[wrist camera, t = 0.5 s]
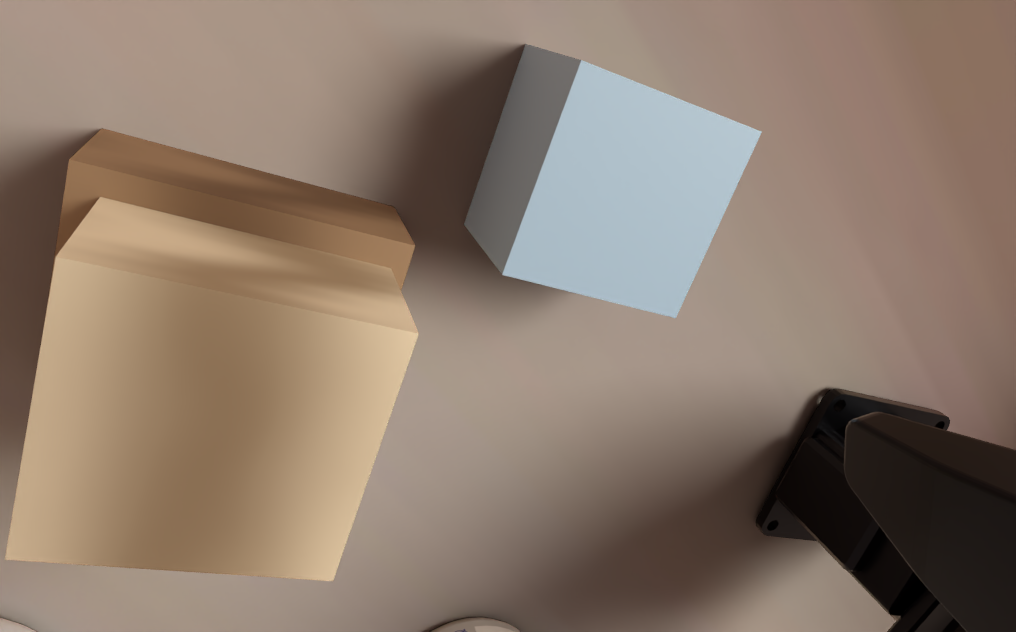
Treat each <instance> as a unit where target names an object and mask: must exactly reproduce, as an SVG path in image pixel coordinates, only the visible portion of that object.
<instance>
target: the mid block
mask: <svg viewBox="0 0 1016 632" xmlns="http://www.w3.org/2000/svg"><path fill="white" fill-rule="evenodd" d="M418 335H419V333H418V330H417V328H416V326H415V323H414V321H413V319H412V316H411V314H410V312H409V309H408V307H407V304H406V302H405V300H404V297H403V295H402V293H401V290H400V288H399V286H398V283H397V281H396V279H395V276H394V274H393V272H392V269H391V268H387V267H383V266H379V265H375V264H371V263H367V262H363V261H359V260H355V259H351V258H347V257H343V256H339V255H335V254H331V253H326V252H322V251H318V250H314V249H310V248H306V247H302V246H298V245H294V244H290V243H286V242H282V241H278V240H274V239H270V238H265V237H261V236H257V235H253V234H249V233H245V232H241V231H237V230H233V229H229V228H225V227H221V226H217V225H213V224H209V223H205V222H200V221H196V220H192V219H188V218H184V217H180V216H176V215H172V214H168V213H164V212H160V211H156V210H152V209H148V208H144V207H139V206H135V205H131V204H127V203H123V202H119V201H115V200H111V199H107V198H103V197H100V198H99V199H98V200H97V202H96V203H95V205H94V206H93V207H92V209H91V210H90V211H89V213H88V214H87V215H86V217H85V218H84V219H83V221H82V222H81V223H80V225H79V226H78V227H77V229H76V230H75V231H74V233H73V234H72V235H71V237H70V238H69V239H68V241H67V242H66V243H65V245H64V246H63V248H62V249H61V250H60V252H59V253H58V254H57V256H56V258H55V264H54V270H53V276H52V282H51V288H50V294H49V300H48V306H47V312H46V318H45V323H44V329H43V335H42V341H41V347H40V353H39V359H38V365H37V371H36V377H35V383H34V389H33V395H32V401H31V407H30V413H29V418H28V424H27V430H26V436H25V442H24V448H23V454H22V460H21V466H20V472H19V478H18V484H17V490H16V496H15V502H14V508H13V513H12V519H11V525H10V531H9V537H8V543H7V549H6V555H5V560H17V561H33V562H48V563H63V564H78V565H94V566H109V567H124V568H139V569H155V570H170V571H185V572H201V573H216V574H231V575H246V576H262V577H277V578H292V579H307V580H323V581H333V580H334V577H335V574H336V571H337V568H338V565H339V562H340V559H341V557H342V554H343V551H344V548H345V545H346V542H347V539H348V536H349V534H350V531H351V528H352V525H353V522H354V519H355V516H356V513H357V510H358V508H359V505H360V502H361V499H362V496H363V493H364V490H365V487H366V485H367V482H368V479H369V476H370V473H371V470H372V467H373V464H374V462H375V459H376V456H377V453H378V450H379V447H380V444H381V441H382V438H383V436H384V433H385V430H386V427H387V424H388V421H389V418H390V415H391V413H392V410H393V407H394V404H395V401H396V398H397V395H398V392H399V389H400V387H401V384H402V381H403V378H404V375H405V372H406V369H407V366H408V364H409V361H410V358H411V355H412V352H413V349H414V346H415V343H416V341H417V338H418Z"/></svg>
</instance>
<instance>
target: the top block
mask: <svg viewBox="0 0 1016 632" xmlns="http://www.w3.org/2000/svg"><path fill="white" fill-rule="evenodd" d="M760 134H761V131H758V130H756V129H753V128H751V127H748V126H746V125H743V124H741V123H738V122H736V121H733V120H731V119H728V118H726V117H723V116H721V115H718V114H716V113H713V112H711V111H708V110H705V109H703V108H700V107H698V106H695V105H693V104H690V103H688V102H685V101H683V100H680V99H678V98H675V97H673V96H670V95H668V94H665V93H663V92H660V91H658V90H655V89H652V88H650V87H647V86H645V85H642V84H640V83H637V82H635V81H632V80H630V79H627V78H625V77H622V76H620V75H617V74H615V73H612V72H610V71H607V70H605V69H602V68H600V67H597V66H594V65H592V64H589V63H587V62H584V61H582V60H579V59H575V58H572V57H568V56H565V55H562V54H558V53H555V52H551V51H548V50H544V49H541V48H538V47H534V46H531V45H527V44H525V47H524V50H523V53H522V56H521V59H520V62H519V64H518V67H517V70H516V73H515V76H514V79H513V82H512V85H511V88H510V91H509V94H508V97H507V100H506V102H505V105H504V108H503V111H502V114H501V117H500V120H499V123H498V126H497V129H496V132H495V135H494V138H493V141H492V143H491V146H490V149H489V152H488V155H487V158H486V161H485V164H484V167H483V170H482V173H481V176H480V179H479V181H478V184H477V187H476V190H475V193H474V196H473V199H472V202H471V205H470V208H469V211H468V214H467V217H466V220H465V222H464V225H465V227H466V228H467V229H468V231H469V232H470V233H471V235H472V236H473V237H474V238H475V240H476V241H477V242H478V244H479V245H480V246H481V248H482V249H483V250H484V252H485V253H486V254H487V256H488V257H489V258H490V260H491V261H492V262H493V263H494V265H495V266H496V267H497V269H498V270H499V271H500V273H501V274H502V275H505V276H509V277H513V278H517V279H521V280H525V281H529V282H533V283H537V284H541V285H545V286H549V287H553V288H557V289H561V290H565V291H569V292H573V293H577V294H581V295H585V296H589V297H593V298H597V299H601V300H605V301H609V302H613V303H617V304H621V305H625V306H629V307H633V308H637V309H641V310H645V311H649V312H653V313H657V314H661V315H665V316H669V317H673V318H676V316H677V314H678V312H679V310H680V308H681V306H682V303H683V301H684V299H685V297H686V295H687V293H688V290H689V288H690V286H691V284H692V282H693V280H694V277H695V275H696V273H697V271H698V269H699V267H700V264H701V262H702V260H703V258H704V256H705V254H706V251H707V249H708V247H709V245H710V243H711V241H712V238H713V236H714V234H715V232H716V230H717V228H718V225H719V223H720V221H721V219H722V217H723V215H724V212H725V210H726V208H727V206H728V204H729V202H730V199H731V197H732V195H733V193H734V191H735V189H736V186H737V184H738V182H739V180H740V178H741V176H742V173H743V171H744V169H745V167H746V165H747V163H748V160H749V158H750V156H751V154H752V152H753V150H754V147H755V145H756V143H757V141H758V139H759V137H760Z"/></svg>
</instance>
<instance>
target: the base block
mask: <svg viewBox="0 0 1016 632" xmlns="http://www.w3.org/2000/svg"><path fill="white" fill-rule="evenodd" d="M100 197H103V198H107V199H111V200H115V201H119V202H123V203H127V204H131V205H135V206H139V207H144V208H148V209H152V210H156V211H160V212H164V213H168V214H172V215H176V216H180V217H184V218H188V219H192V220H196V221H200V222H205V223H209V224H213V225H217V226H221V227H225V228H229V229H233V230H237V231H241V232H245V233H249V234H253V235H257V236H261V237H265V238H270V239H274V240H278V241H282V242H286V243H290V244H294V245H298V246H302V247H306V248H310V249H314V250H318V251H322V252H326V253H331V254H335V255H339V256H343V257H347V258H351V259H355V260H359V261H363V262H367V263H371V264H375V265H379V266H383V267H387V268H391V269H392V272H393V274H394V276H395V279H396V281H397V283H398V286H399V288H400V290H401V289H402V286H403V283H404V280H405V277H406V274H407V271H408V267H409V264H410V261H411V258H412V255H413V252H414V249H415V244H414V242H413V240H412V239H411V237H410V235H409V233H408V231H407V230H406V228H405V226H404V224H403V222H402V220H401V219H400V217H399V215H398V213H397V211H396V209H395V208H394V207H393V206H389V205H385V204H382V203H378V202H374V201H371V200H367V199H363V198H359V197H356V196H352V195H348V194H344V193H341V192H337V191H333V190H330V189H326V188H322V187H318V186H315V185H311V184H307V183H303V182H300V181H296V180H292V179H289V178H285V177H281V176H277V175H274V174H270V173H266V172H263V171H259V170H255V169H251V168H248V167H244V166H240V165H236V164H233V163H229V162H225V161H222V160H218V159H214V158H210V157H207V156H203V155H199V154H195V153H192V152H188V151H184V150H181V149H177V148H173V147H169V146H166V145H162V144H158V143H155V142H151V141H147V140H143V139H140V138H136V137H132V136H128V135H125V134H121V133H117V132H114V131H110V130H106V129H101V130H100V131H99V132H98V133H97V134H96V135H94V136H93V137H92V138H91V139H90V140H89V141H88V142H87V143H86V144H85V145H84V146H83V147H82V148H81V149H80V150H79V151H77V152H76V153H75V154H74V155H73V156H72V157H71V158H70V159H69V163H68V170H67V177H66V183H65V190H64V196H63V203H62V210H61V216H60V223H59V229H58V236H57V243H56V249H55V256H54V262H53V269H52V276H53V270H54V264H55V258H56V256H57V254H58V253H59V252H60V250H61V249H62V248H63V246H64V245H65V243H66V242H67V241H68V239H69V238H70V237H71V235H72V234H73V233H74V231H75V230H76V229H77V227H78V226H79V225H80V223H81V222H82V221H83V219H84V218H85V217H86V215H87V214H88V213H89V211H90V210H91V209H92V207H93V206H94V205H95V203H96V202H97V200H98V199H99V198H100ZM52 276H51V282H52ZM51 282H50V288H51ZM49 294H50V289H49ZM48 300H49V295H48ZM47 306H48V302H47ZM46 312H47V309H46ZM45 318H46V315H45ZM44 323H45V322H44ZM43 329H44V328H43Z"/></svg>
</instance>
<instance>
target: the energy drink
mask: <svg viewBox="0 0 1016 632" xmlns="http://www.w3.org/2000/svg"><path fill="white" fill-rule="evenodd" d="M431 632H520V631H519V630H518V629H517V628H515V627H513V626H511V625H510V624H508V623H505V622H502V621H499V620H495V619H492V618H482V617H476V618H466V619H461V620H457V621H453V622H450V623H448V624H445V625H442V626H440V627H438V628H437V629H435V630H433V631H431Z"/></svg>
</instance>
